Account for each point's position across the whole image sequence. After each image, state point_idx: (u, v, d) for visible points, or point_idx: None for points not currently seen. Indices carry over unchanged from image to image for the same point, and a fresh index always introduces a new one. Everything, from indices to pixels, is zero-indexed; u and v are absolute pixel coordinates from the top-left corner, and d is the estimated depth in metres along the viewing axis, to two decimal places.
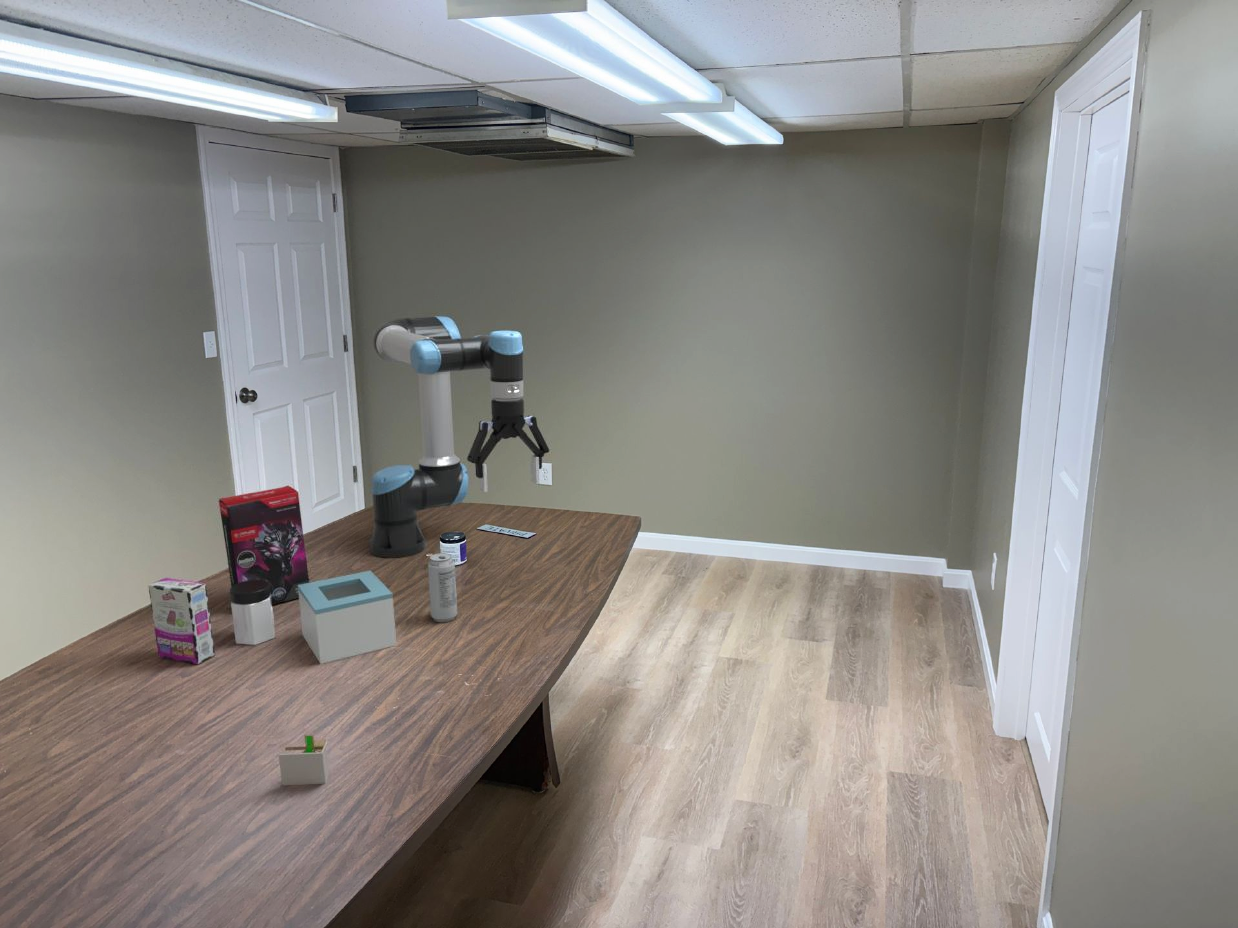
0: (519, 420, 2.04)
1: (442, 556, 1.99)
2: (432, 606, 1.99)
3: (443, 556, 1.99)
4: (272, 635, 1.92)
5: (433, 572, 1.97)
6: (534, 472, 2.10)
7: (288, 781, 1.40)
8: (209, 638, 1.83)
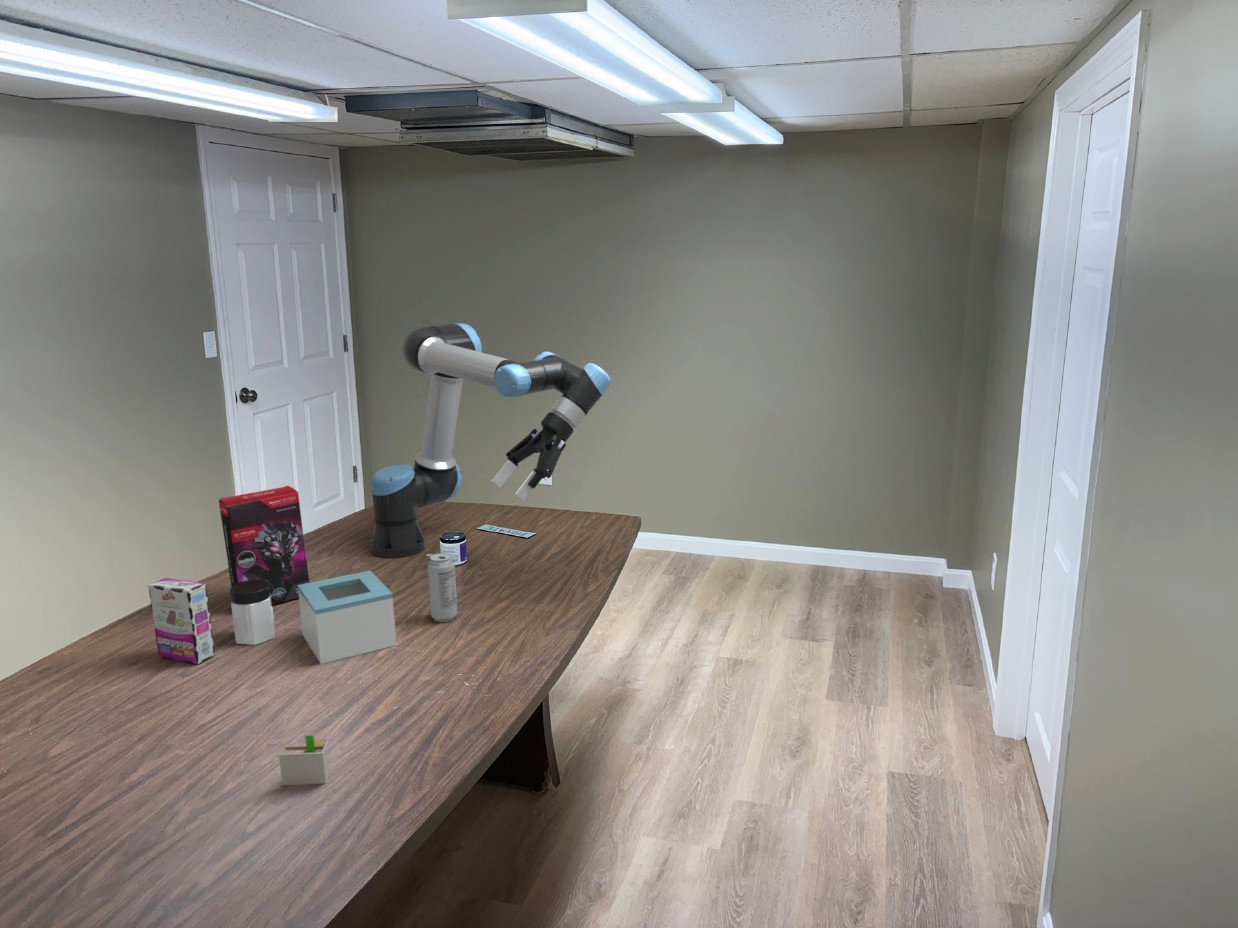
0: None
1: (442, 556, 1.99)
2: (432, 606, 1.99)
3: (443, 556, 1.99)
4: (272, 635, 1.92)
5: (432, 572, 1.97)
6: (503, 476, 2.10)
7: (288, 781, 1.40)
8: (209, 638, 1.83)
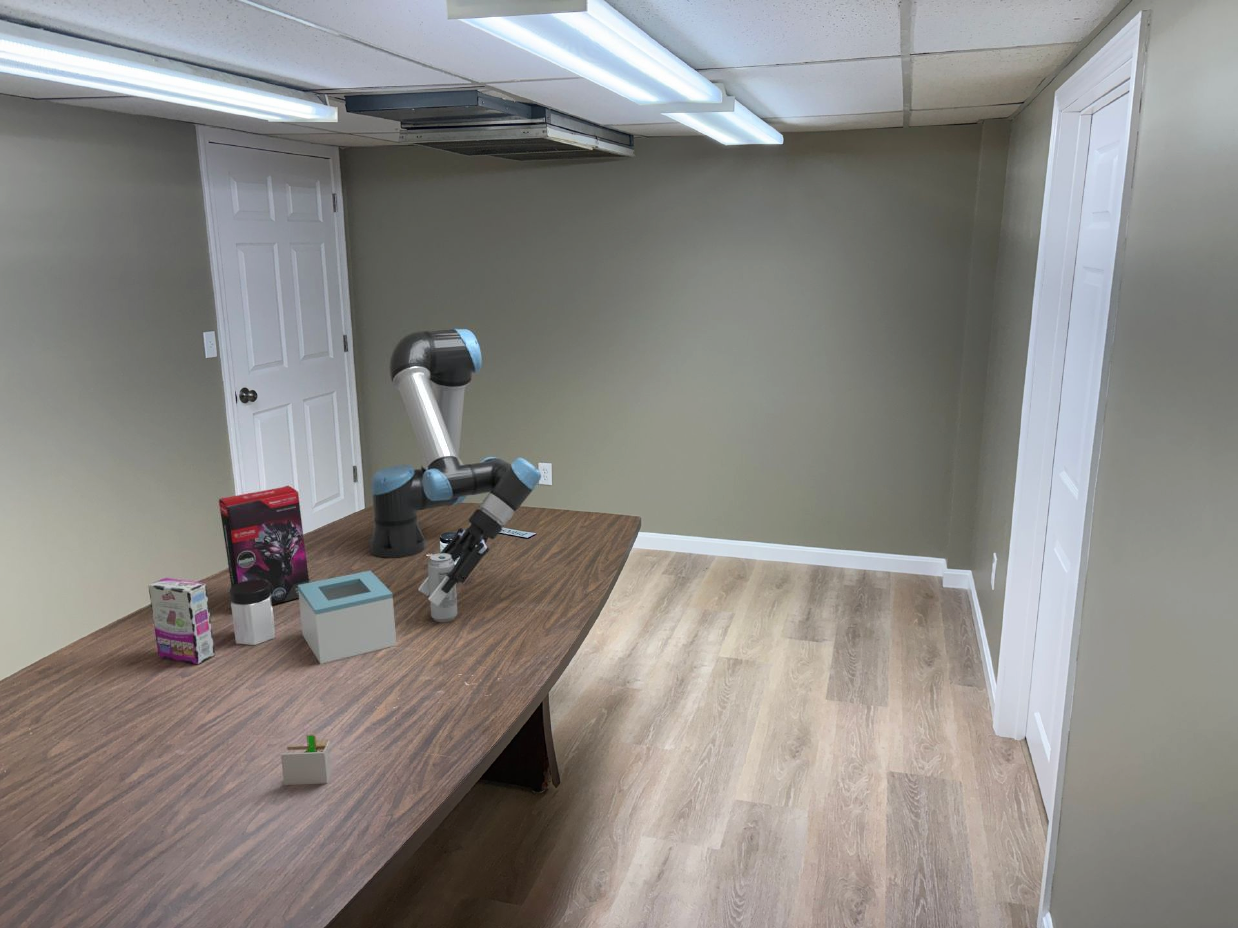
0: None
1: (442, 556, 1.99)
2: (432, 606, 1.99)
3: (443, 556, 1.99)
4: (272, 635, 1.92)
5: (433, 572, 1.97)
6: None
7: (290, 781, 1.40)
8: (209, 638, 1.83)
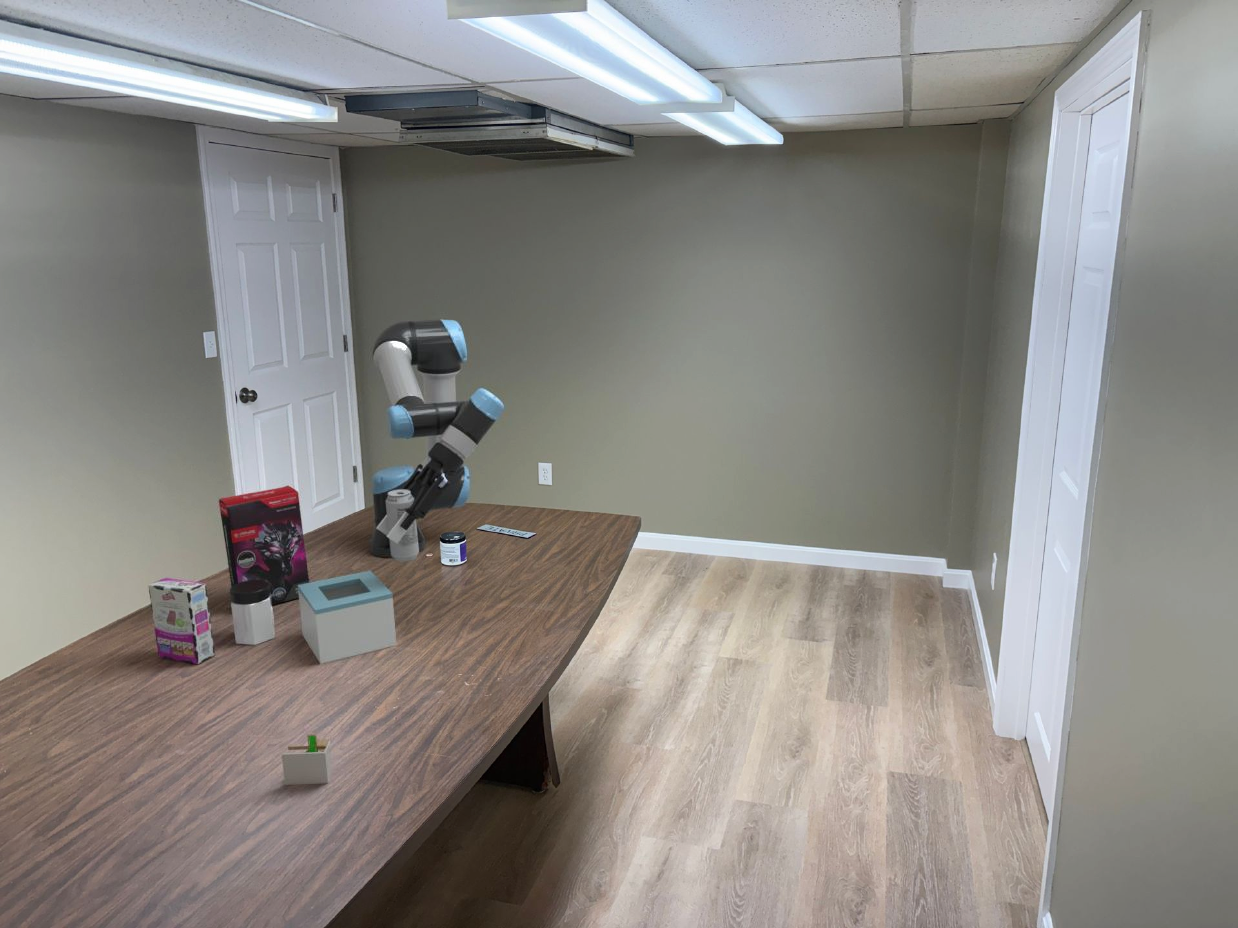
0: None
1: (401, 492, 1.89)
2: (392, 545, 1.89)
3: (402, 492, 1.89)
4: (272, 635, 1.92)
5: (391, 508, 1.86)
6: None
7: (291, 781, 1.40)
8: (209, 638, 1.83)
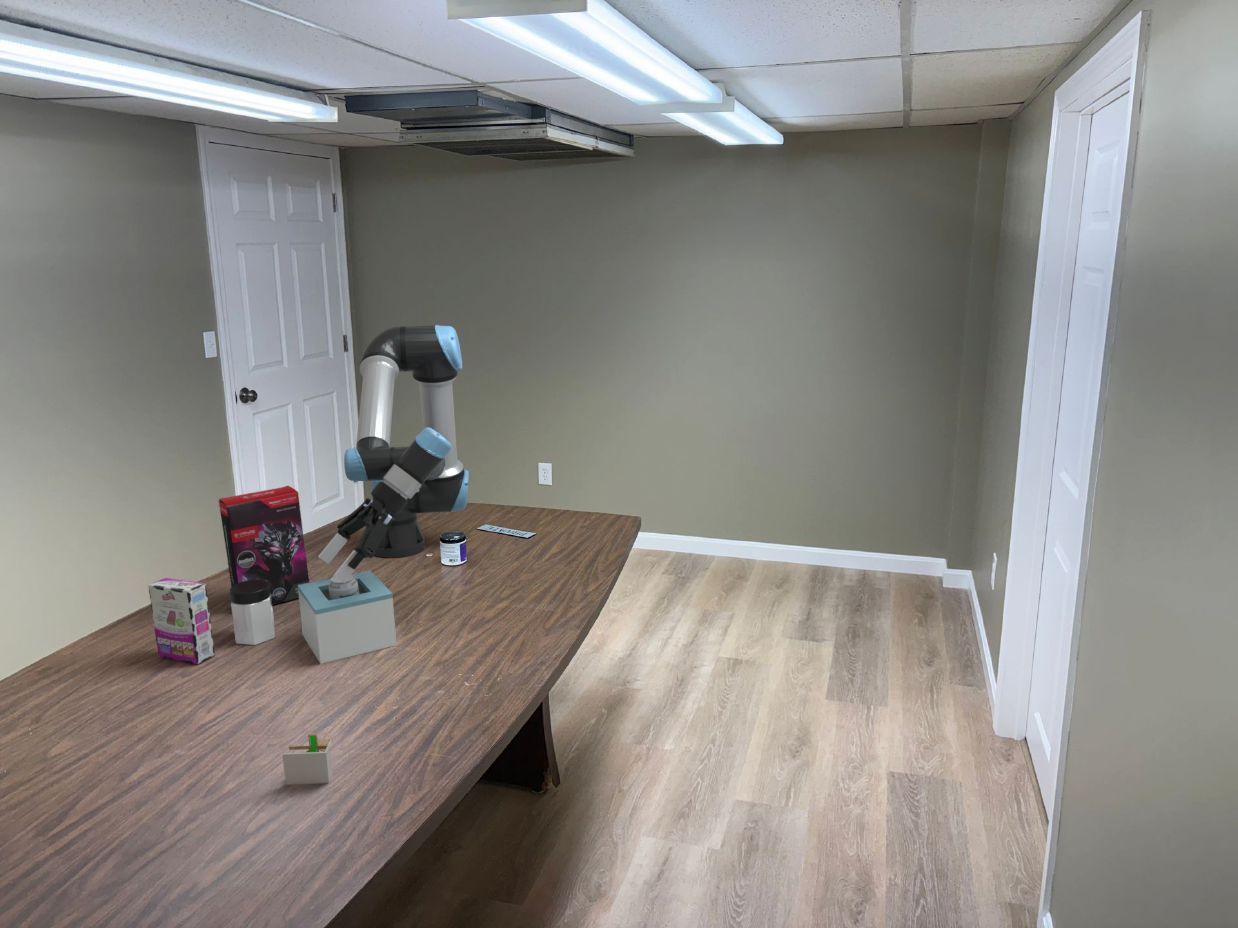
0: None
1: None
2: None
3: None
4: (272, 635, 1.92)
5: (333, 595, 1.84)
6: (332, 552, 1.91)
7: (292, 780, 1.40)
8: (209, 638, 1.83)
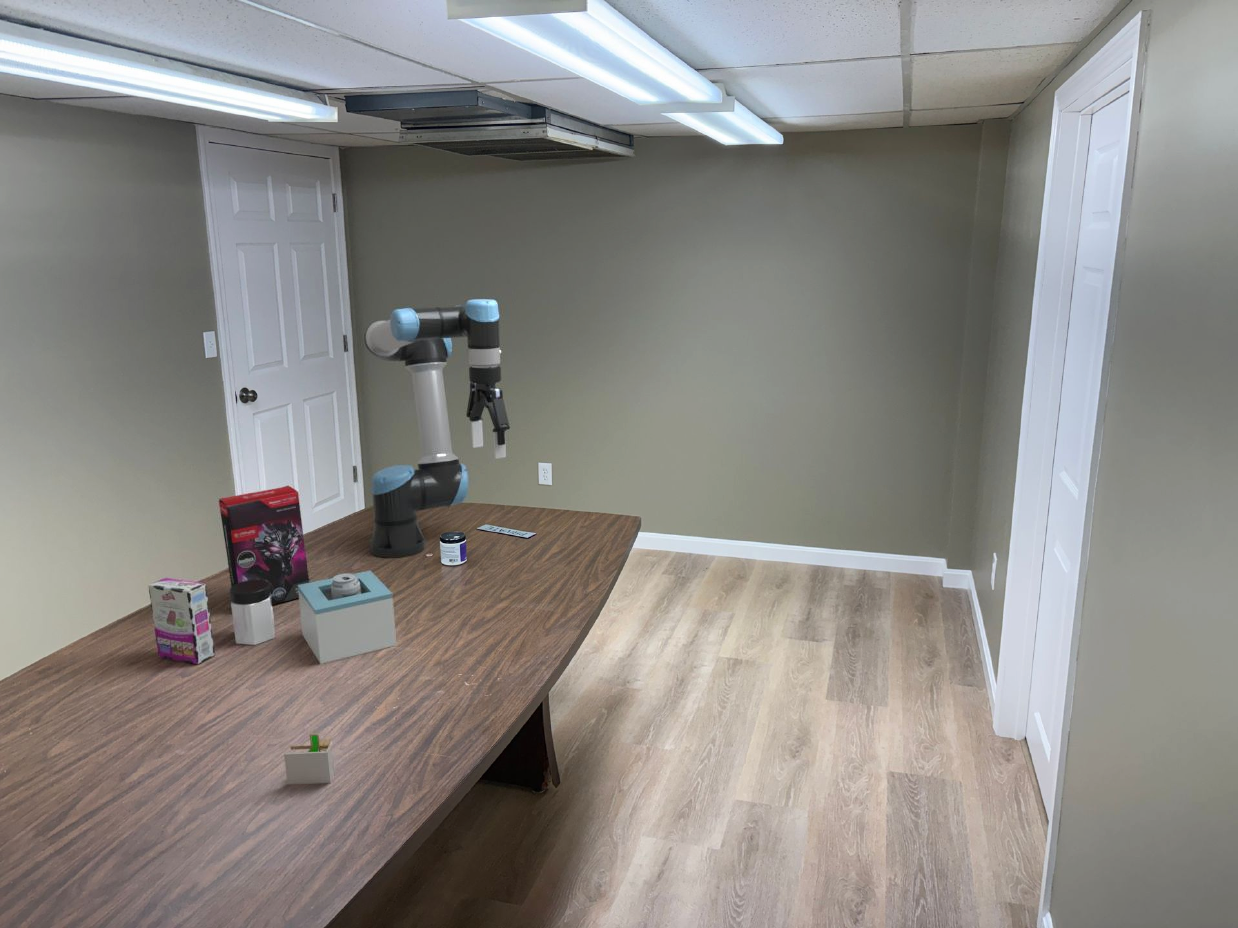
0: None
1: (346, 576, 1.87)
2: None
3: (347, 576, 1.87)
4: (272, 635, 1.92)
5: (336, 594, 1.85)
6: (478, 437, 2.18)
7: (293, 780, 1.40)
8: (209, 638, 1.83)
